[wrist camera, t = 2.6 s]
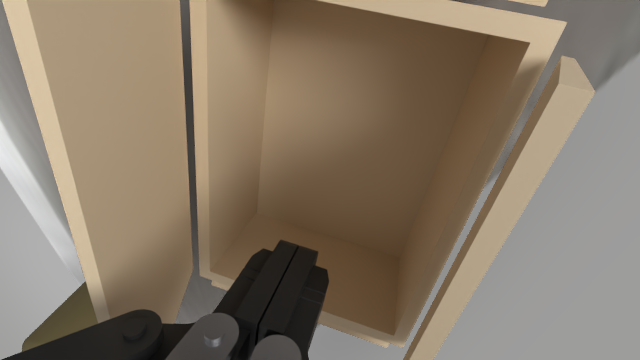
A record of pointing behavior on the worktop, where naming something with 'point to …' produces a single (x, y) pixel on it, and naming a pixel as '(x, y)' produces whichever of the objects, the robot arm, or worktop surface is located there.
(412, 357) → the flap
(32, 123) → the worktop surface
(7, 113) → the worktop surface
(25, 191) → the worktop surface
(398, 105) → the carton
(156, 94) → the flap
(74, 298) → the squeeze bottle
